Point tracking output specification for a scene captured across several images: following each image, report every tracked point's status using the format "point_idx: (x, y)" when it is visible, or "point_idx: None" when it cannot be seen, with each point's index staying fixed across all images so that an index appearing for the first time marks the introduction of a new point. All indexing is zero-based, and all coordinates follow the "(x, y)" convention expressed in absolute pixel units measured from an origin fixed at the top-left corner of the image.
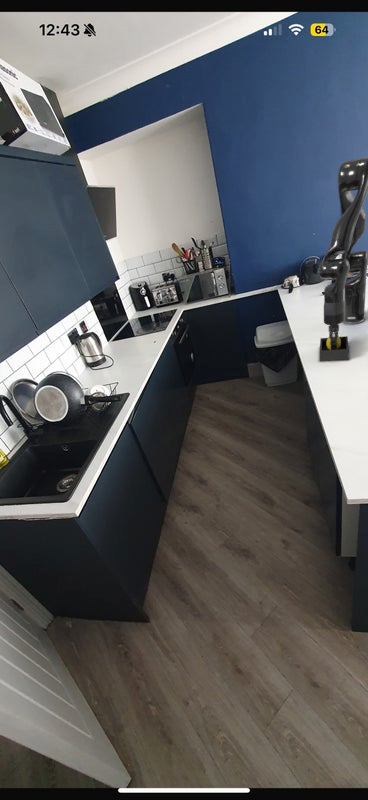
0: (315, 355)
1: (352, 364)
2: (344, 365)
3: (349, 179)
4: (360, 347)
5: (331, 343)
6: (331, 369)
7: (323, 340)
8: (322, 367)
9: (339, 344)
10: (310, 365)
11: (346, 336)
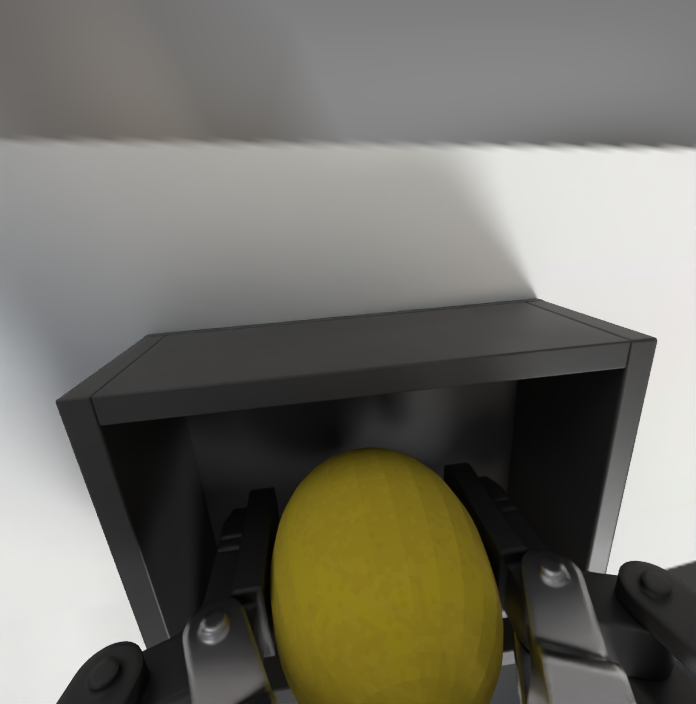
0: None
1: (643, 250)
2: (642, 328)
3: None
4: (178, 158)
5: (675, 660)
6: (684, 429)
7: None
8: (627, 499)
9: (435, 484)
10: None
11: (71, 417)
